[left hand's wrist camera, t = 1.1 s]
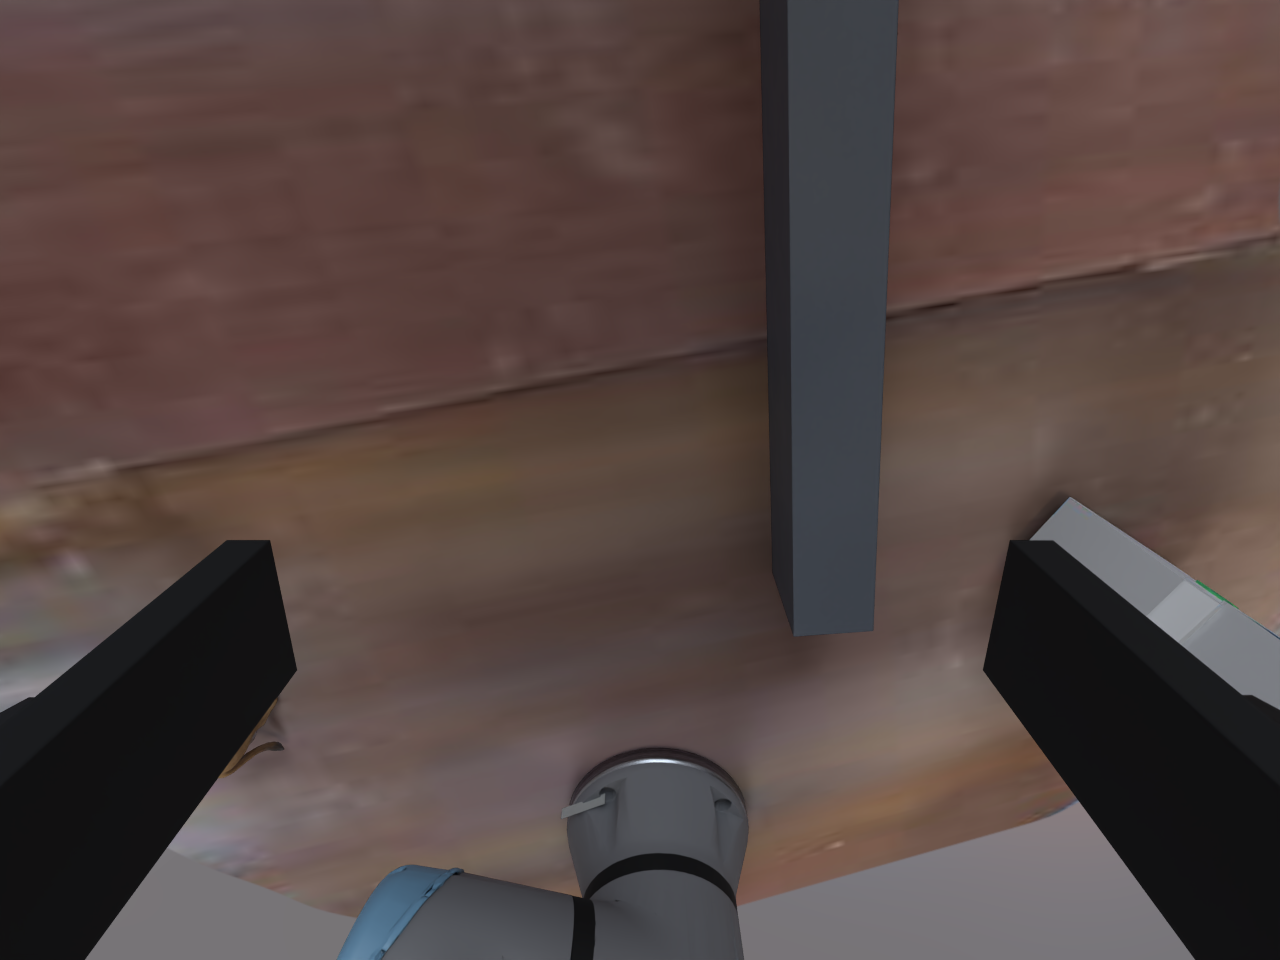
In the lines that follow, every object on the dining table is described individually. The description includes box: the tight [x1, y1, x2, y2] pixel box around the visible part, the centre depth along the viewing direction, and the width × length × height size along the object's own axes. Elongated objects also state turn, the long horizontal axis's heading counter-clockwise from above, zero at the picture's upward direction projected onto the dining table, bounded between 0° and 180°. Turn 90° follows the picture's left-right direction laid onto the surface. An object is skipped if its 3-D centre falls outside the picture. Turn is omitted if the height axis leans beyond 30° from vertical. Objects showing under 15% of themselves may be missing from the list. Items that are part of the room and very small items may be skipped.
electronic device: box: [1030, 497, 1280, 710], centre depth 38 cm, size 12×8×30 cm, turn 58°
